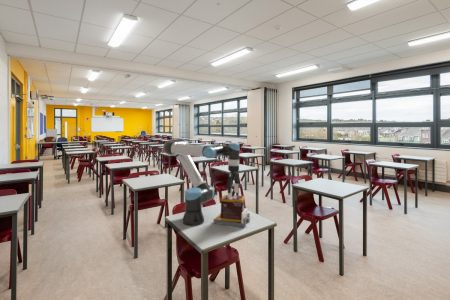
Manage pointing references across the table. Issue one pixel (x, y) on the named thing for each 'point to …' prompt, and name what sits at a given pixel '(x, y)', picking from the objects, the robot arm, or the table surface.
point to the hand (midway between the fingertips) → (233, 194)
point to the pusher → (244, 215)
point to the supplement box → (232, 208)
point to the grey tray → (231, 223)
